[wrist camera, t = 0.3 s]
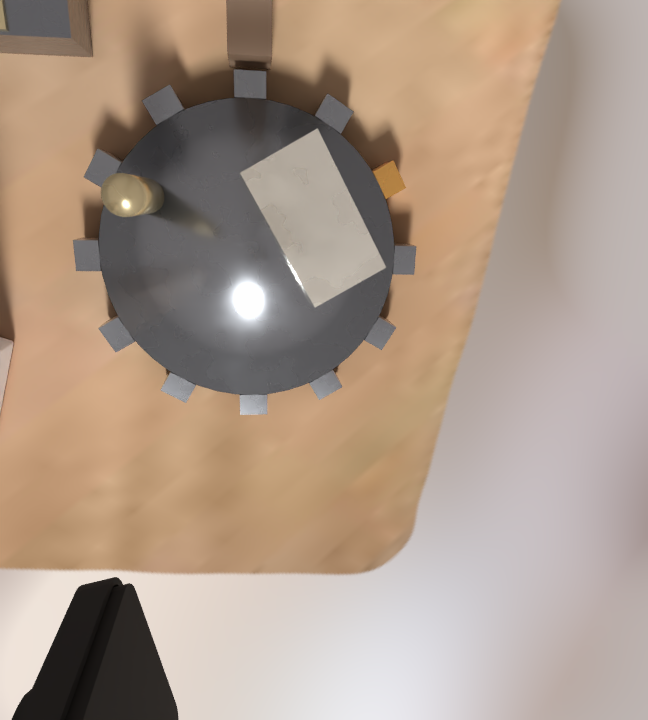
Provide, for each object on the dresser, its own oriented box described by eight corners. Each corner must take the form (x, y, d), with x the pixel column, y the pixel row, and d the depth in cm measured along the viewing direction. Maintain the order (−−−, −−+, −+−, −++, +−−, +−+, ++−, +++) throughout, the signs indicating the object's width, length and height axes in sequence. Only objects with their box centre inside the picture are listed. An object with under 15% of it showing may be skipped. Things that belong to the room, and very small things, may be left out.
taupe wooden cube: (228, 8, 31) (226, -11, 28) (270, 11, 31) (271, -7, 28) (229, 66, 32) (227, 53, 29) (270, 69, 32) (272, 56, 29)
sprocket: (66, 67, 30) (4, 23, 23) (418, 88, 33) (468, 55, 25) (100, 406, 36) (60, 462, 29) (396, 400, 39) (431, 449, 31)
